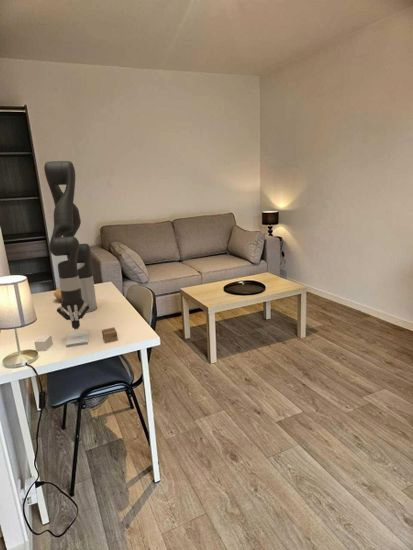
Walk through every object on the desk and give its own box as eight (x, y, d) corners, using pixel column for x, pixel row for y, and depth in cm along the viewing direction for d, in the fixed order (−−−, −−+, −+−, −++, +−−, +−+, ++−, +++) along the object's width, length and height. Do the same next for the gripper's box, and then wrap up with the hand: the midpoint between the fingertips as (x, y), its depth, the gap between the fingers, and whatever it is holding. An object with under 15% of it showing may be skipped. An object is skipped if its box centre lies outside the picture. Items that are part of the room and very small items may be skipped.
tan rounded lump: (91, 292, 213) (97, 300, 200) (52, 296, 203) (55, 305, 190) (91, 279, 211) (96, 286, 198) (51, 283, 201) (54, 291, 188)
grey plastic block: (42, 344, 145) (41, 335, 144) (52, 344, 145) (51, 334, 144) (36, 351, 139) (34, 341, 138) (46, 351, 139) (44, 341, 138)
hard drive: (87, 341, 143) (88, 329, 155) (65, 345, 141) (68, 332, 152) (88, 345, 143) (89, 333, 155) (66, 348, 141) (68, 336, 153)
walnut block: (102, 338, 148) (101, 329, 147) (115, 336, 150) (114, 327, 149) (105, 343, 144) (103, 334, 142) (117, 340, 146) (116, 331, 145)
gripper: (89, 283, 147) (94, 323, 151) (54, 286, 145) (60, 326, 149) (86, 288, 140) (92, 330, 144) (50, 291, 137) (57, 334, 142)
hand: (76, 328), depth 147 cm, fingers closed
